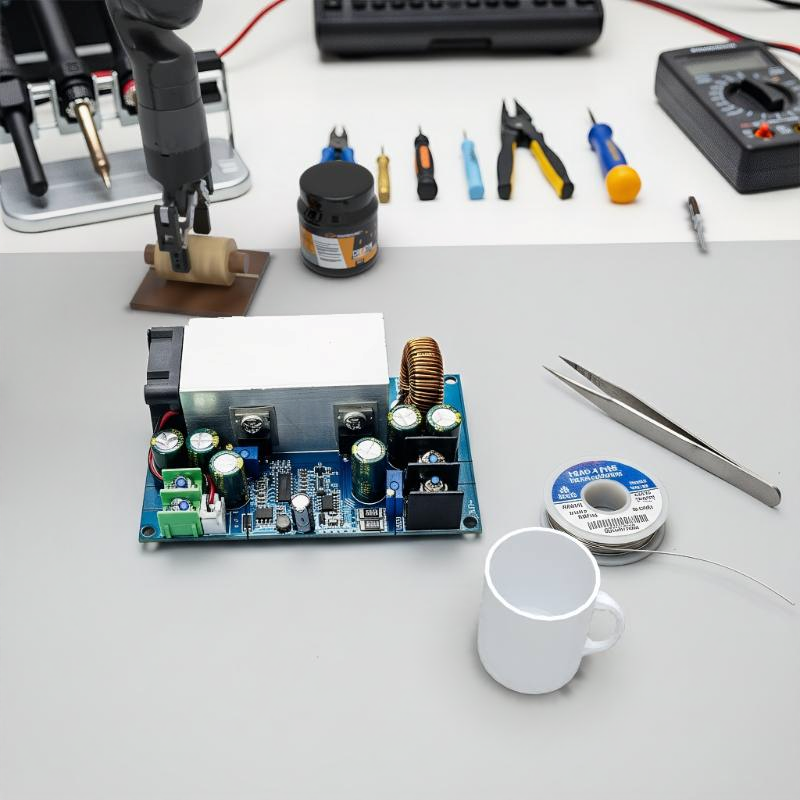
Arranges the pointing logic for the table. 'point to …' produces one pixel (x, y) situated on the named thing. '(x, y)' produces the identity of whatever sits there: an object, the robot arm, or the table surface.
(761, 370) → the table surface
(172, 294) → the pastry board
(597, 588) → the mug
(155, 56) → the robot arm
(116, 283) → the table surface
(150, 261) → the rolling pin
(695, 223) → the pocket knife
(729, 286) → the table surface
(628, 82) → the table surface
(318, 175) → the supplement container
